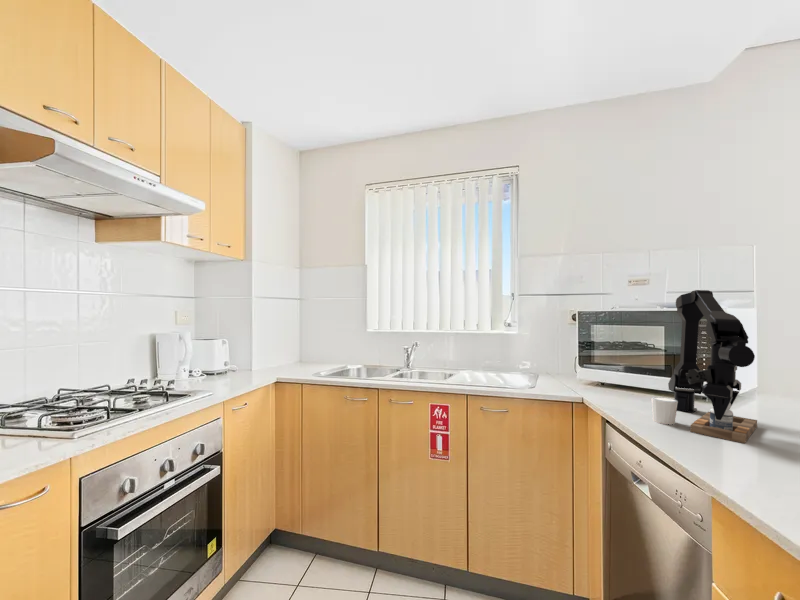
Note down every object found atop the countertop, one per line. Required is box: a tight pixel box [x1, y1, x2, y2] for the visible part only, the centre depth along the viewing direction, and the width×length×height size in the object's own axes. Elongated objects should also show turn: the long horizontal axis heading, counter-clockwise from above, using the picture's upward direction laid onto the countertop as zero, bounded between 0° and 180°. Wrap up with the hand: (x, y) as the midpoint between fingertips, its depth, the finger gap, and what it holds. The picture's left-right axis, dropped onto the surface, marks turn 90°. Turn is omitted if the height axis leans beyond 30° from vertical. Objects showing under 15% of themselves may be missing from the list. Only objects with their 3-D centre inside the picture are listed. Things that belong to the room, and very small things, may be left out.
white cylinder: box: [650, 396, 678, 426], centre depth 128 cm, size 7×7×7 cm
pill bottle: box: [709, 403, 734, 431], centre depth 118 cm, size 5×5×9 cm
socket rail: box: [690, 411, 758, 444], centre depth 122 cm, size 24×12×2 cm, turn 134°
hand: (721, 417), depth 118 cm, fingers open, 7 cm apart
